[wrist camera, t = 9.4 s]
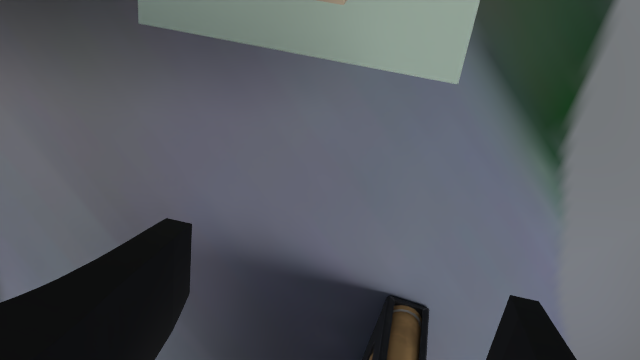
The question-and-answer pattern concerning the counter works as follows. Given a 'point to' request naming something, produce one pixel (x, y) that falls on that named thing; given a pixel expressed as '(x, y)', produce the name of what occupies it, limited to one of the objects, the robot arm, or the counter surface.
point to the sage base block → (335, 29)
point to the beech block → (335, 1)
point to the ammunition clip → (399, 332)
